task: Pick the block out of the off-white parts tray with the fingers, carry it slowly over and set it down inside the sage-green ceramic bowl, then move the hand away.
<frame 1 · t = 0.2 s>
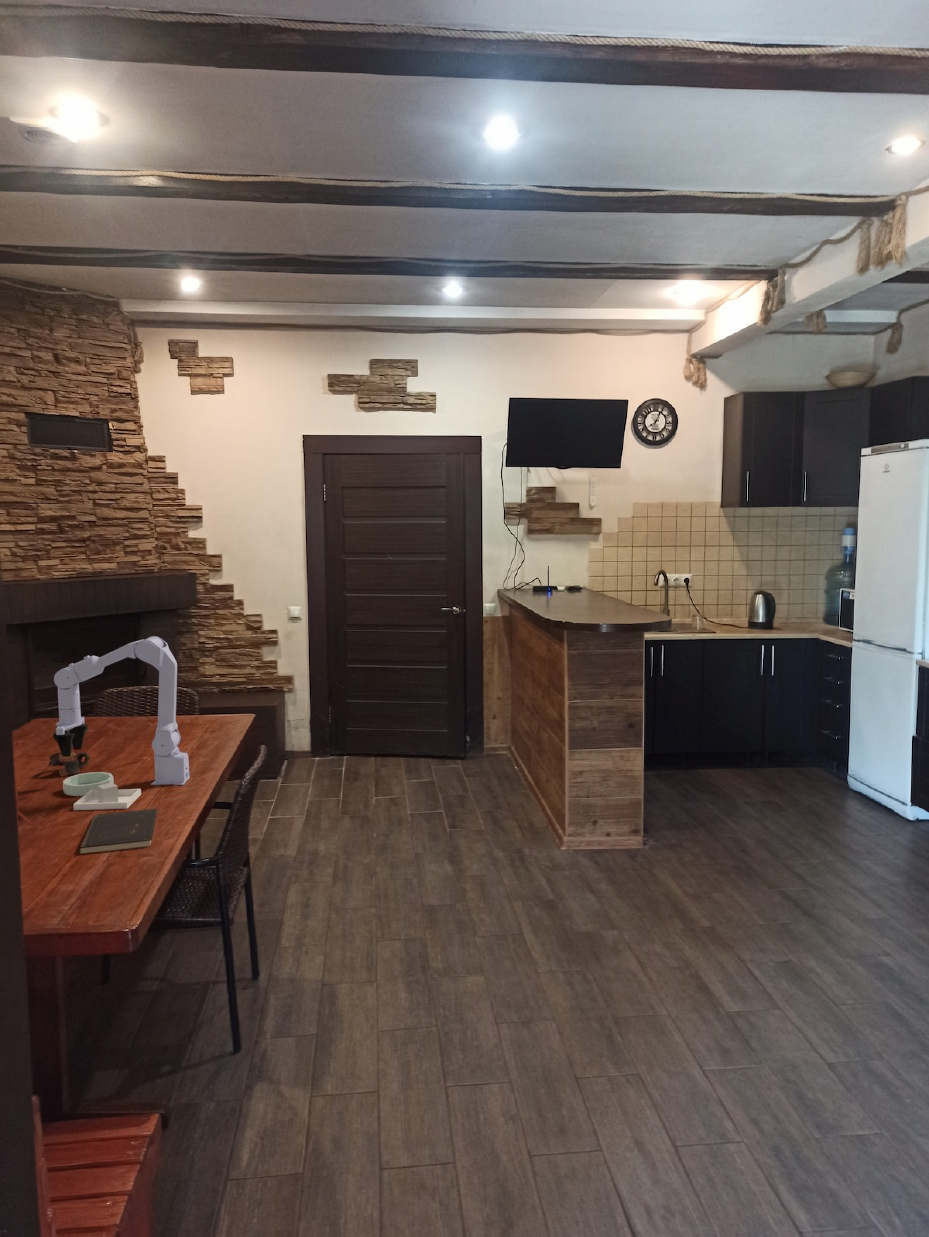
hand: (72, 752, 240), 10 cm above the table, tool pointing down, fingers open, 7 cm apart
block: (108, 801, 225), point 1 cm above the table, touching tray
tray: (108, 804, 225), on the table
hardcover book: (121, 836, 203), on the table
pottery mug: (70, 772, 256), on the table
bowl: (89, 790, 237), on the table
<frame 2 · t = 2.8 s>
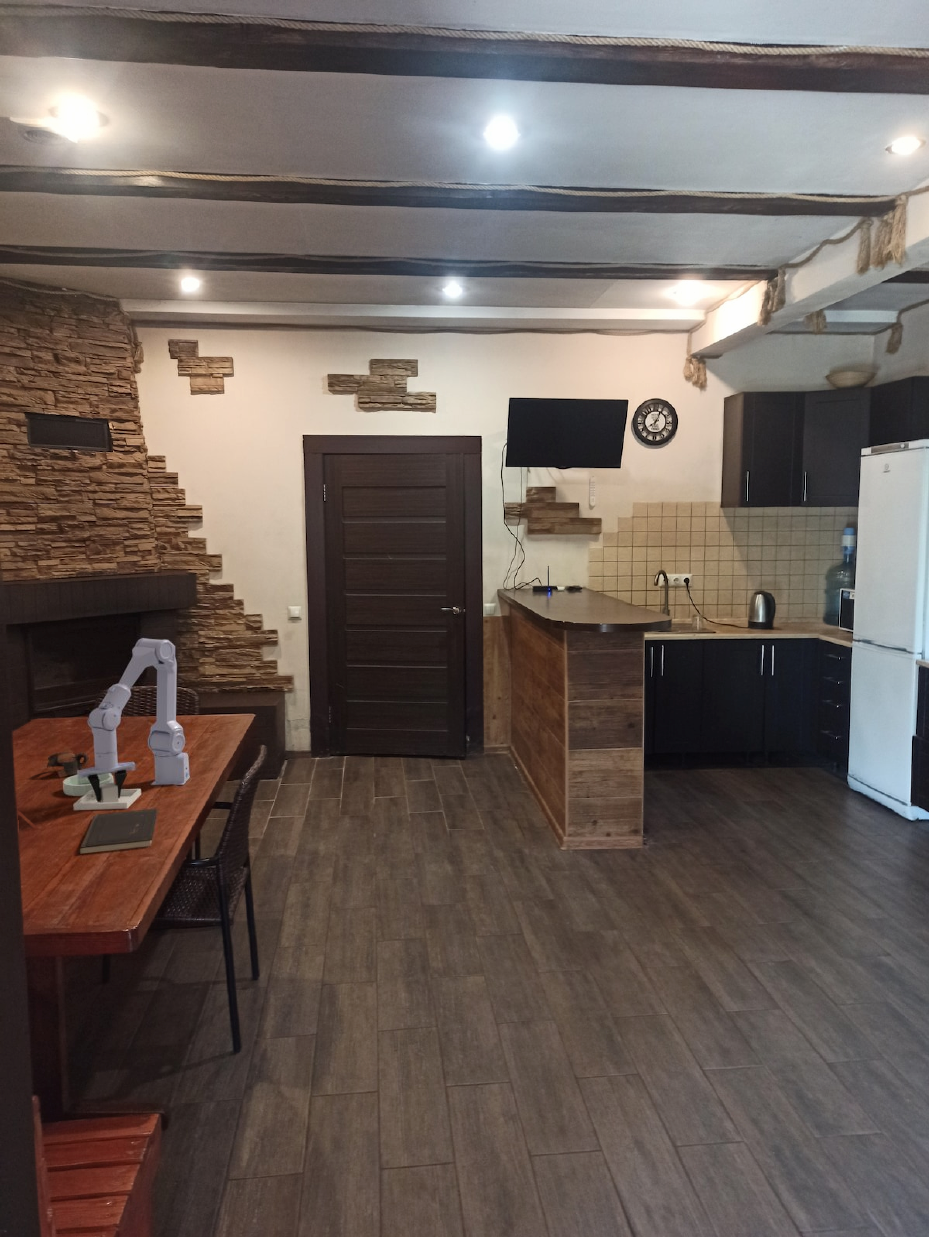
hand: (108, 799, 225), 1 cm above the table, tool pointing down, fingers closed on block, 4 cm apart
block: (108, 801, 225), point 1 cm above the table, touching gripper, tray
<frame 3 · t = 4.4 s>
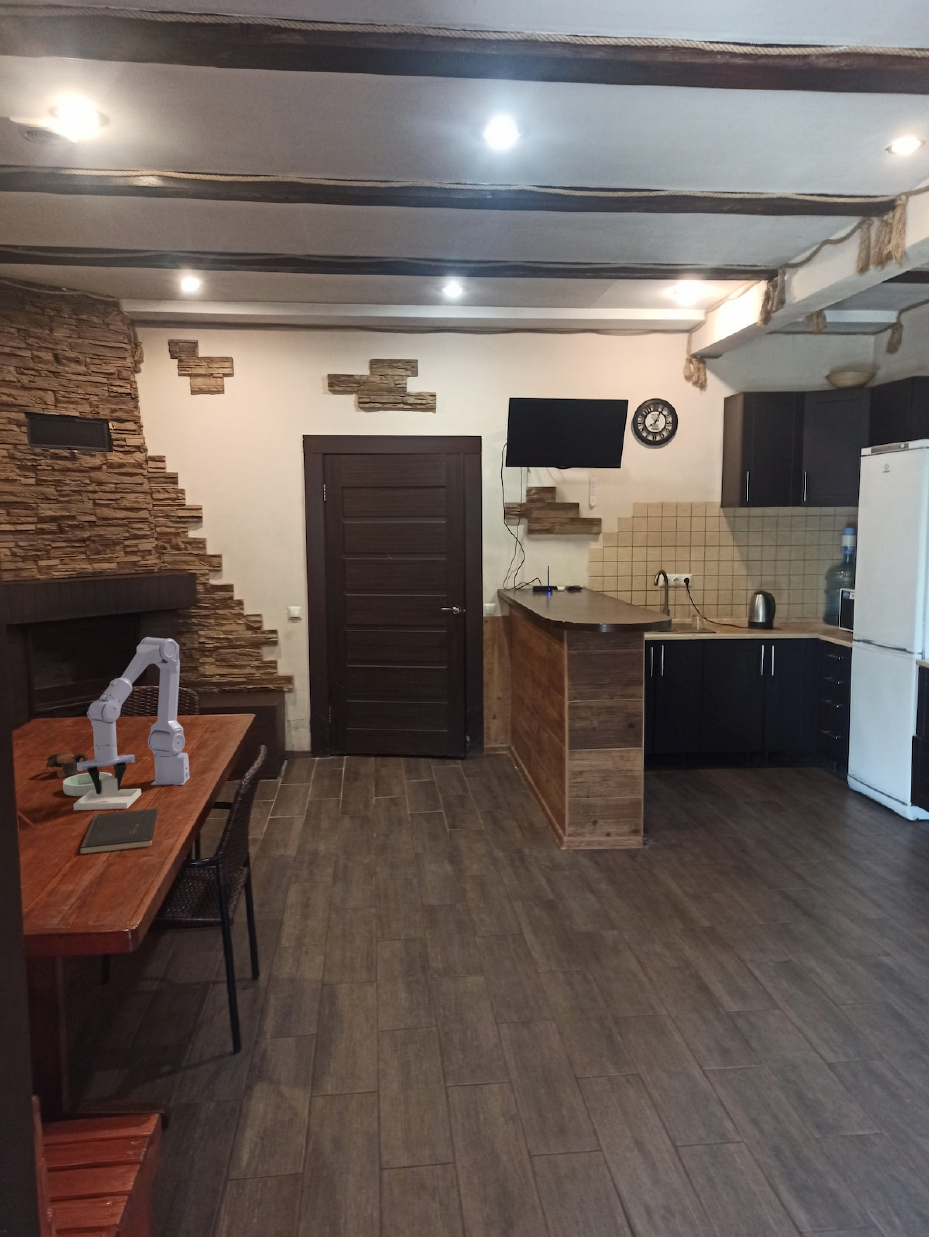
hand: (107, 791, 224), 4 cm above the table, tool pointing down, fingers closed on block, 4 cm apart
block: (108, 794, 225), point 3 cm above the table, touching gripper
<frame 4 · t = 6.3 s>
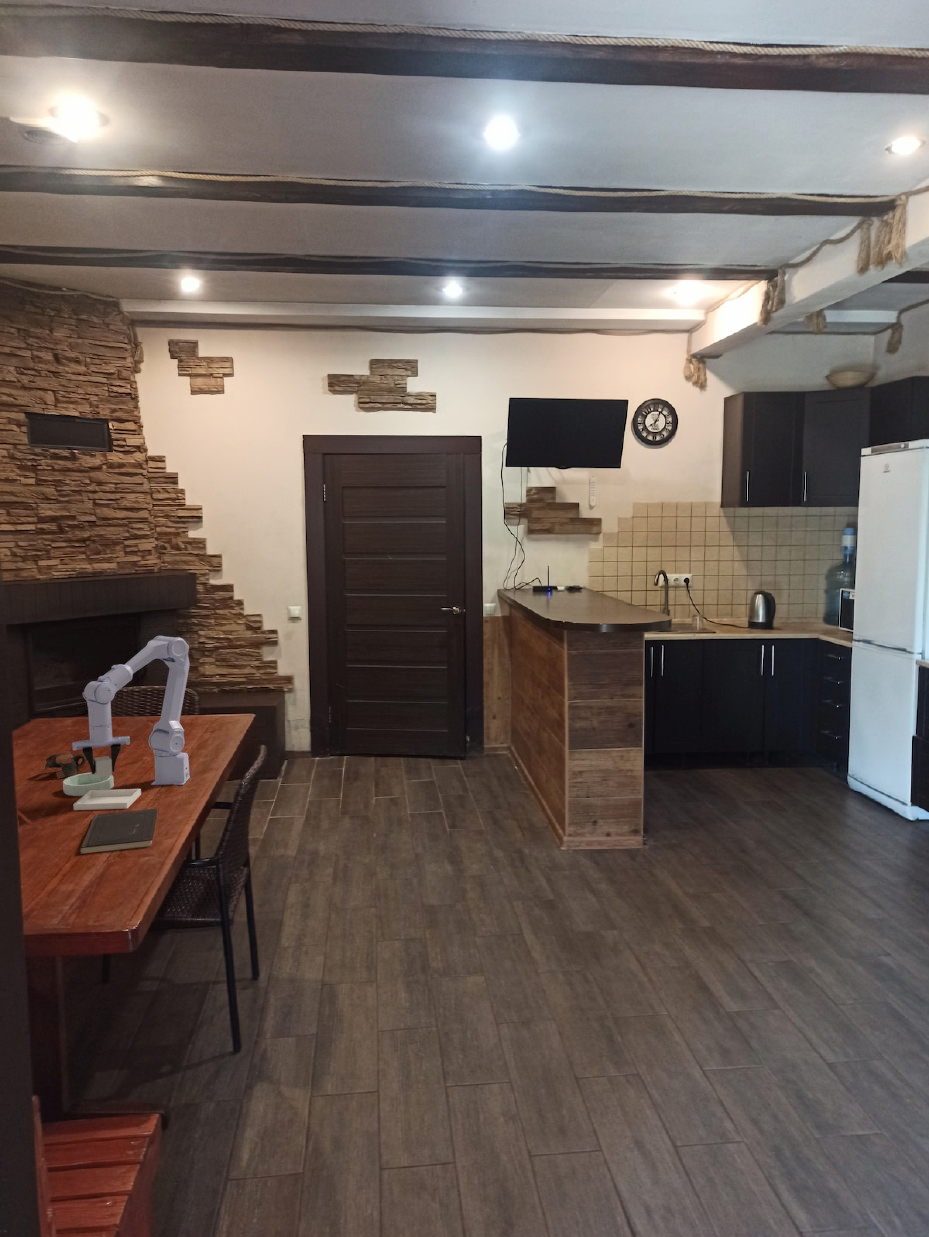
hand: (103, 772, 226), 8 cm above the table, tool pointing down, fingers closed on block, 4 cm apart
block: (103, 774, 226), point 8 cm above the table, touching gripper
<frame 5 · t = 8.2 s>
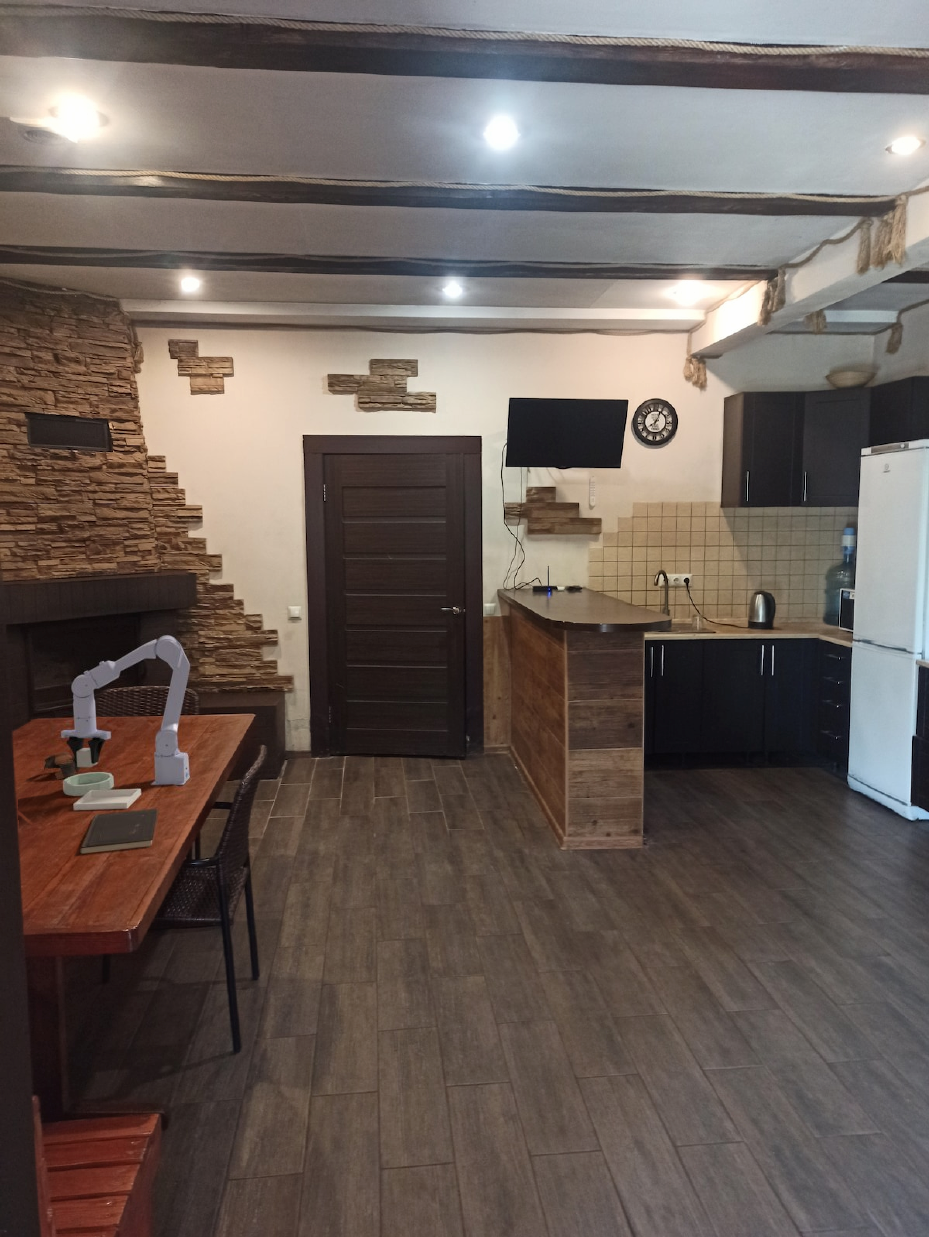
hand: (87, 762, 236), 8 cm above the table, tool pointing down, fingers closed on block, 4 cm apart
block: (87, 765, 236), point 8 cm above the table, touching gripper
when the fingers open (4 cm above the table, at t = 9.7 s): block drops 3 cm, resting on bowl.
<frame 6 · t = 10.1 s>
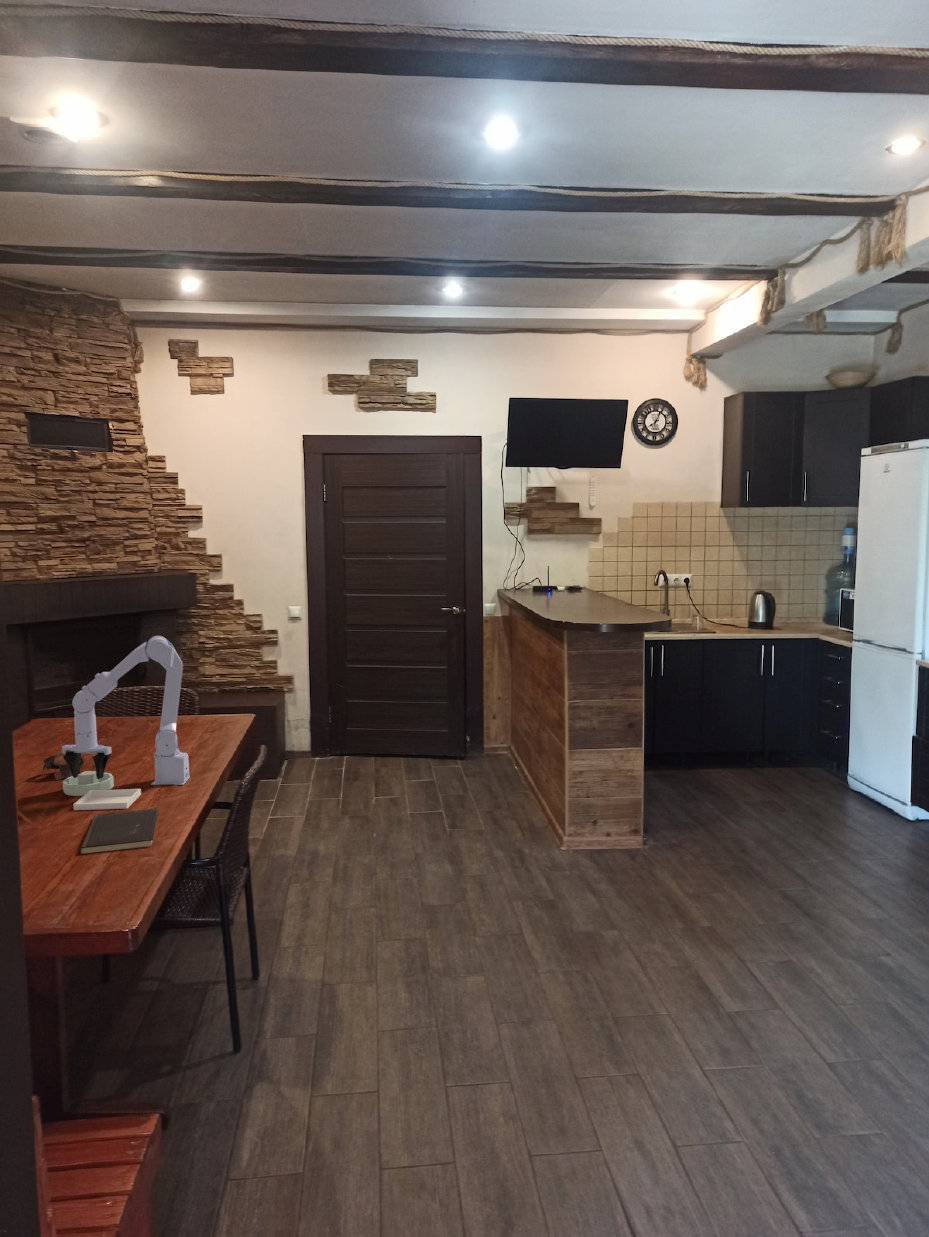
hand: (88, 777, 236), 4 cm above the table, tool pointing down, fingers open, 7 cm apart
block: (88, 788, 237), point 1 cm above the table, touching bowl
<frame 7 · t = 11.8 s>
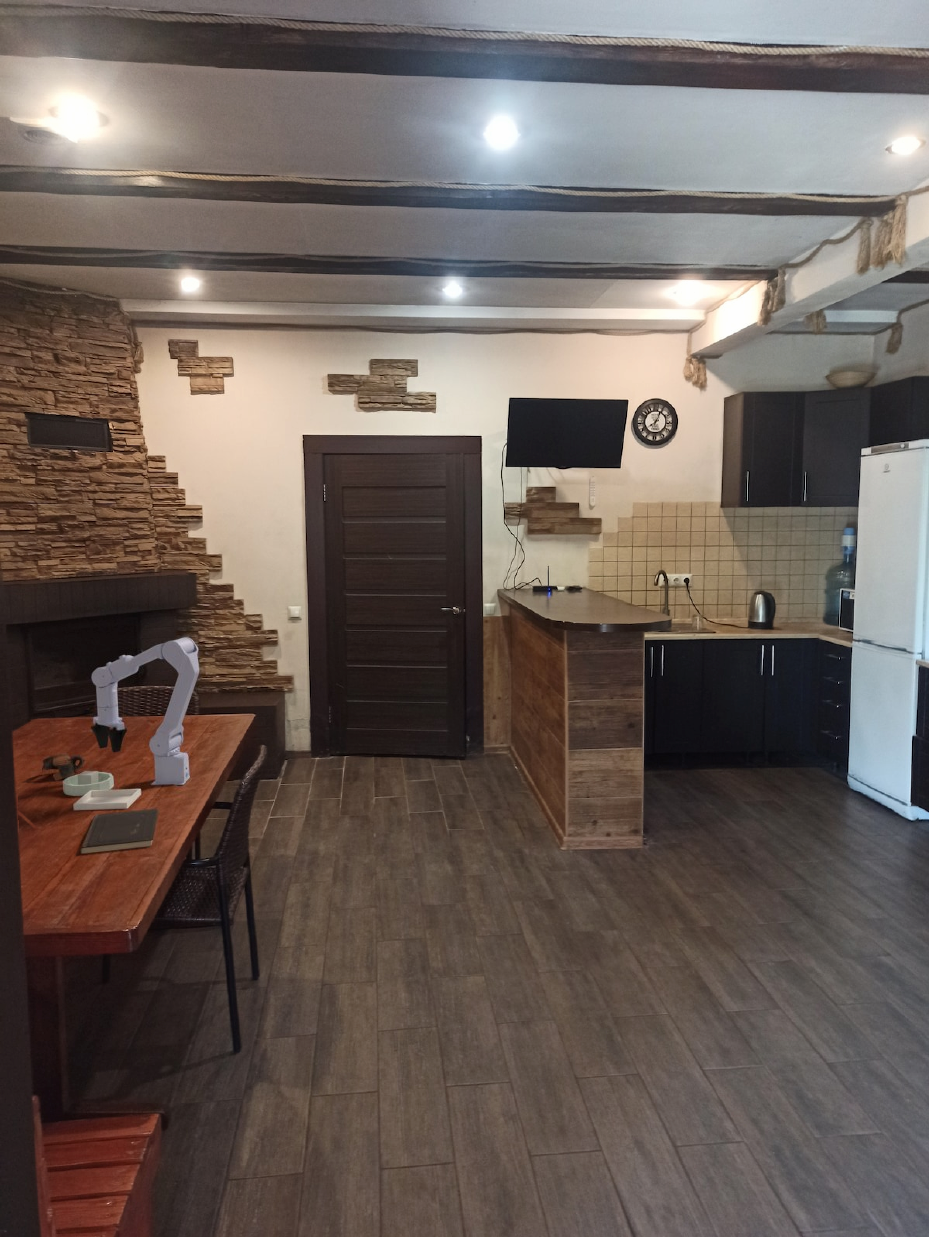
hand: (109, 749, 246), 9 cm above the table, tool pointing down, fingers open, 7 cm apart
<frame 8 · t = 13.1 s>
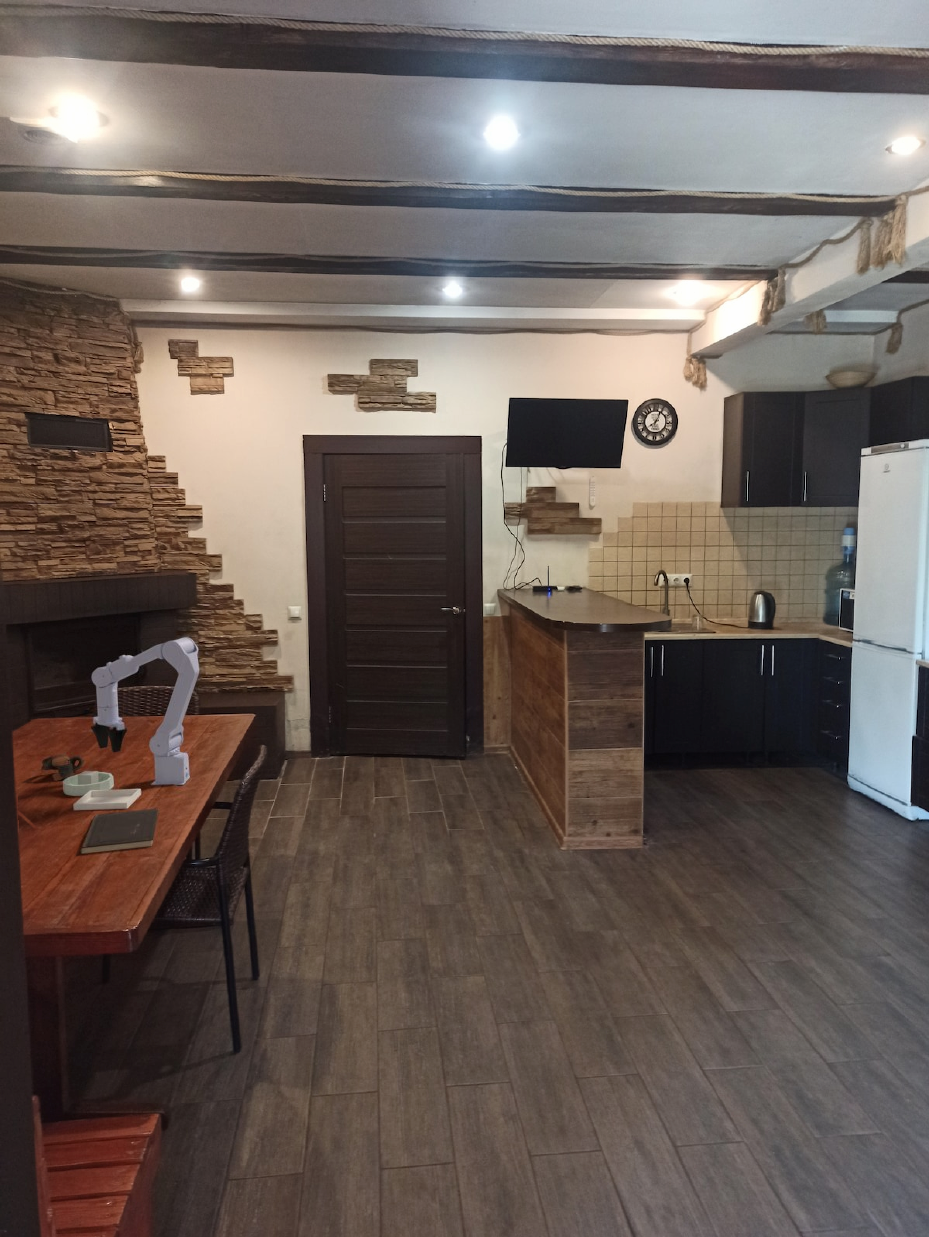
hand: (109, 749, 246), 9 cm above the table, tool pointing down, fingers open, 7 cm apart
at the end: block inside the target area on the bowl (0.0 cm from its centre), point 0.6 cm above the bowl's base; the gripper is holding nothing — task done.
